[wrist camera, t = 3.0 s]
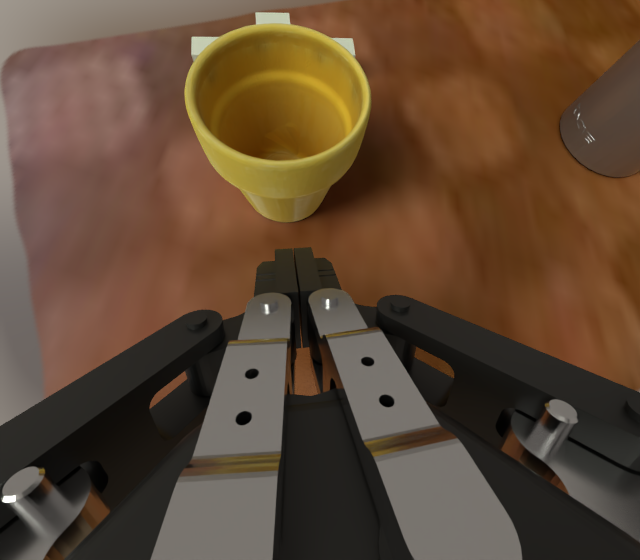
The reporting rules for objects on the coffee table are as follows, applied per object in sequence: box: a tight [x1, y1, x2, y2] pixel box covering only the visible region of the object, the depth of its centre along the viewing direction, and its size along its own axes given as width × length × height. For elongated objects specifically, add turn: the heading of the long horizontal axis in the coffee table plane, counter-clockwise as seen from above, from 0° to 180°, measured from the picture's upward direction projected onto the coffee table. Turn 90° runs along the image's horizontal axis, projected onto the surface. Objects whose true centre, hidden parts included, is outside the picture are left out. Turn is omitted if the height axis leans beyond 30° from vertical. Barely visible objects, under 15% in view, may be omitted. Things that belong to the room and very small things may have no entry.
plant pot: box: [185, 23, 371, 222], centre depth 21 cm, size 10×10×10 cm
